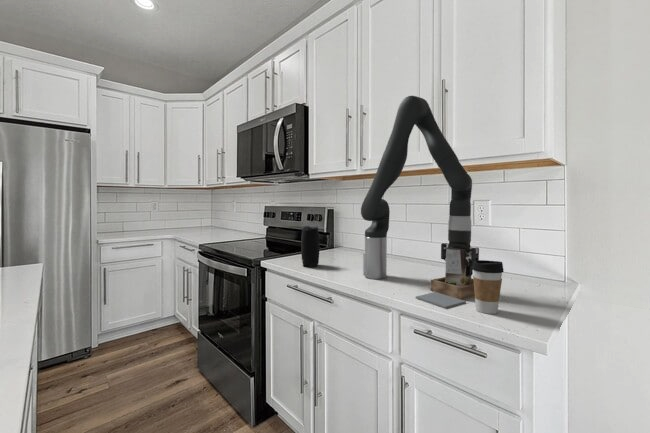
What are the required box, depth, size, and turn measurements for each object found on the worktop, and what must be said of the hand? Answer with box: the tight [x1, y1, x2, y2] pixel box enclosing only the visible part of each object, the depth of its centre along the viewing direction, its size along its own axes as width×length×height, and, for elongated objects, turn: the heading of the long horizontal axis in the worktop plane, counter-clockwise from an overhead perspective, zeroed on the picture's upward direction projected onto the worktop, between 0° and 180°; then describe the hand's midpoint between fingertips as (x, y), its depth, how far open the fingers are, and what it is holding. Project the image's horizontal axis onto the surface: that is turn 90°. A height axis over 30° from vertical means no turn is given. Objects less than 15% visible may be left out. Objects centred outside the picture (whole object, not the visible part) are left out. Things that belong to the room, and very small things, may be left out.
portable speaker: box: [300, 225, 320, 268], centre depth 161 cm, size 9×9×20 cm
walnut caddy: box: [430, 276, 475, 300], centre depth 117 cm, size 12×14×4 cm
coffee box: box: [444, 247, 472, 287], centre depth 116 cm, size 9×6×16 cm
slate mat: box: [415, 291, 467, 310], centre depth 107 cm, size 12×10×1 cm
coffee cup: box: [472, 259, 505, 315], centre depth 97 cm, size 8×8×15 cm
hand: (458, 274), depth 116 cm, fingers closed on coffee box, 7 cm apart
